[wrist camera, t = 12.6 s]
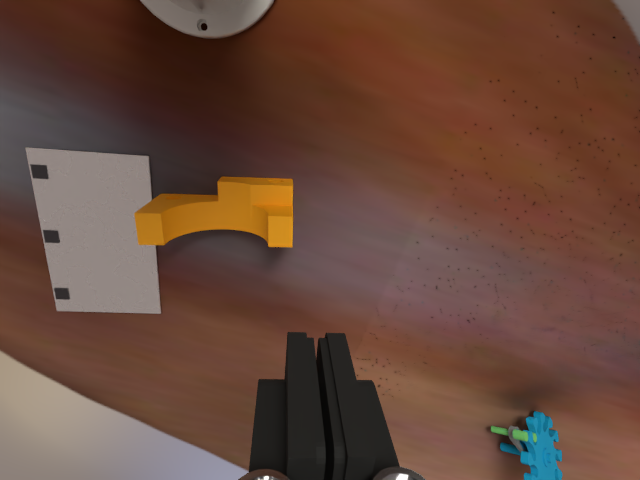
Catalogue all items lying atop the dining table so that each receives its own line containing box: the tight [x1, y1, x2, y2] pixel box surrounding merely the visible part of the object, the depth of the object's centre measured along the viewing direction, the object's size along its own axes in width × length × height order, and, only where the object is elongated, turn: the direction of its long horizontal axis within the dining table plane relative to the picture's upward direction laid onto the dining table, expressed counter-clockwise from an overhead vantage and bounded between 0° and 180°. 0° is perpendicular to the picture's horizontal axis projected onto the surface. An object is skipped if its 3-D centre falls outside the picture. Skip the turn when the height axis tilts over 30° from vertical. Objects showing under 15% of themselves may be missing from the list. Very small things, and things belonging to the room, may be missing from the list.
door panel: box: [25, 147, 161, 314], centre depth 34 cm, size 16×10×1 cm, turn 175°
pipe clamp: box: [134, 177, 293, 247], centre depth 31 cm, size 12×4×6 cm, turn 87°
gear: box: [491, 411, 562, 480], centre depth 46 cm, size 11×6×10 cm
